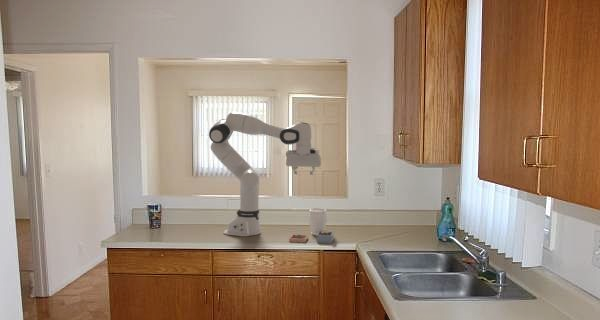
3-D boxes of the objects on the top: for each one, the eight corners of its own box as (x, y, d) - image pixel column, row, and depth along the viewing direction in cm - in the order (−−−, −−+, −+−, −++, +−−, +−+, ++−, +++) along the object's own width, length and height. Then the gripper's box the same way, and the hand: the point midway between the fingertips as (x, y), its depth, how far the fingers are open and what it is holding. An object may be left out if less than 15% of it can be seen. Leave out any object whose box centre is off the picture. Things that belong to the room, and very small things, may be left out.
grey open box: (316, 243, 233) (316, 234, 233) (319, 239, 241) (319, 231, 241) (331, 244, 231) (331, 235, 231) (333, 240, 239) (333, 232, 239)
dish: (289, 242, 235) (289, 238, 234) (292, 238, 243) (292, 234, 243) (304, 243, 233) (305, 239, 233) (307, 239, 242) (307, 235, 242)
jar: (324, 236, 248) (325, 211, 247) (307, 235, 250) (307, 210, 249) (327, 232, 258) (327, 208, 257) (310, 231, 260) (310, 207, 259)
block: (320, 241, 235) (320, 233, 234) (321, 240, 238) (321, 231, 238) (327, 242, 234) (327, 233, 233) (328, 240, 238) (328, 231, 237)
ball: (295, 240, 237) (295, 235, 237) (296, 239, 240) (296, 233, 240) (300, 240, 236) (300, 235, 236) (301, 239, 239) (302, 233, 239)
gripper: (284, 150, 241) (284, 174, 242) (320, 150, 237) (319, 175, 238) (287, 149, 247) (287, 173, 248) (321, 150, 243) (321, 174, 244)
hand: (303, 174), depth 243 cm, fingers open, 8 cm apart
